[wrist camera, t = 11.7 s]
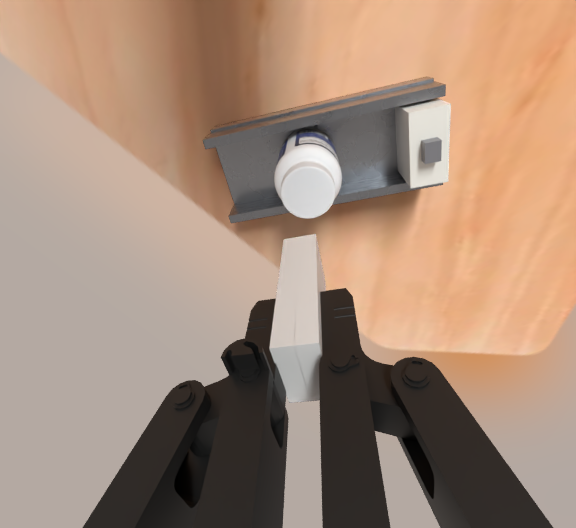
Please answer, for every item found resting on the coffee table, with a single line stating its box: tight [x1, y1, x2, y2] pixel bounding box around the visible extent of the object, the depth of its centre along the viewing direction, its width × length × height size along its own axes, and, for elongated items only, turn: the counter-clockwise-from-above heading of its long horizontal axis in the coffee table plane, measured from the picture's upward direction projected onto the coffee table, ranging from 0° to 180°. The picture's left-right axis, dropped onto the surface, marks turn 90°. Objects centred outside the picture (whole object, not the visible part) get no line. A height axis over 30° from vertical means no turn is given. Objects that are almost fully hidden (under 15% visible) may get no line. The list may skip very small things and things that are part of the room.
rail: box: [203, 77, 446, 223], centre depth 31 cm, size 8×20×5 cm, turn 103°
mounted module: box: [395, 98, 451, 188], centre depth 28 cm, size 6×3×6 cm, turn 13°
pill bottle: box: [274, 128, 342, 219], centre depth 28 cm, size 5×5×10 cm
